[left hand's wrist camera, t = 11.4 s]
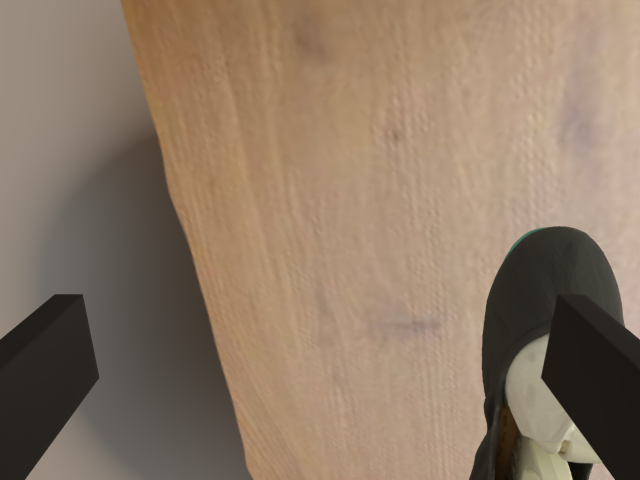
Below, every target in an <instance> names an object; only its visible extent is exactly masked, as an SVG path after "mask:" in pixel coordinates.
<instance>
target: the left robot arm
mask: <svg viewBox="0 0 640 480" xmlns="http://www.w3.org/2000/svg"><path fill="white" fill-rule="evenodd" d="M98 379H99V374H98V369H97V364H96V359H95V354H94V349H93V344H92V339H91V334H90V329H89V324H88V319H87V314H86V309H85V304H84V299H83V295H82V294H55V295H54V296H52V297H51V298H50V299H49V300H48V301H46V302H45V303H44V304H43V305H42V306H40V307H39V308H38V309H37V310H36V311H34V312H33V313H32V314H31V315H29V316H28V317H27V318H26V319H25V320H23V321H22V322H21V323H20V324H19V325H17V326H16V327H15V328H14V329H13V330H11V331H10V332H9V333H8V334H6V335H5V336H4V337H3V338H2V339H0V480H25V479H26V478H27V476H28V475H29V473H30V472H31V471H32V469H33V468H34V467H35V465H36V464H37V462H38V461H39V460H40V458H41V457H42V456H43V454H44V453H45V451H46V450H47V449H48V447H49V446H50V445H51V443H52V442H53V440H54V439H55V438H56V436H57V435H58V434H59V432H60V431H61V429H62V428H63V427H64V425H65V424H66V423H67V421H68V420H69V418H70V417H71V416H72V414H73V413H74V412H75V410H76V409H77V408H78V406H79V405H80V403H81V402H82V401H83V399H84V398H85V397H86V395H87V394H88V392H89V391H90V390H91V388H92V387H93V386H94V384H95V383H96V381H97V380H98ZM541 379H542V380H543V382H544V383H545V384H546V386H547V387H548V388H549V390H550V391H551V393H552V394H553V395H554V397H555V398H556V399H557V401H558V402H559V403H560V405H561V406H562V408H563V409H564V410H565V412H566V413H567V414H568V416H569V417H570V419H571V420H572V421H573V423H574V424H575V425H576V427H577V428H578V430H579V431H580V432H581V434H582V435H583V436H584V438H585V439H586V440H587V442H588V443H589V445H590V446H591V447H592V449H593V450H594V451H595V453H596V454H597V456H598V457H599V458H600V460H601V461H602V462H603V464H604V465H605V467H606V468H607V469H608V471H609V472H610V473H611V475H612V476H613V478H614V479H615V480H640V339H638V338H637V337H636V336H635V335H634V334H632V333H631V332H630V331H629V330H627V329H626V328H625V327H624V326H623V325H621V324H620V323H619V322H618V321H617V320H615V319H614V318H613V317H612V316H611V315H609V314H608V313H607V312H606V311H605V310H603V309H602V308H601V307H600V306H598V305H597V304H596V303H595V302H594V301H592V300H591V299H590V298H589V297H588V296H586V295H585V294H557V299H556V304H555V309H554V314H553V319H552V324H551V329H550V334H549V339H548V344H547V349H546V354H545V359H544V364H543V369H542V374H541Z"/></svg>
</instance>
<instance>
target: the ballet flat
mask: <svg viewBox="0 0 640 480" xmlns="http://www.w3.org/2000/svg"><path fill="white" fill-rule="evenodd" d="M557 294H585V295H586V296H588V297H589V298H590V299H591V300H592V301H594V302H595V303H596V304H597V305H598V306H600V307H601V308H602V309H603V310H605V311H606V312H607V313H608V314H609V315H611V316H612V317H613V318H614V319H615V320H617V321H618V322H619V323H620V324H621V325H623V326H624V327H625V325H624V320H623V312H622V303H621V297H620V293H619V289H618V285H617V282H616V279H615V276H614V274H613V271H612V269H611V266H610V264H609V262H608V260H607V258H606V257H605V255H604V253H603V251H602V250H601V248H600V247H599V246H598V245H597V243H596V242H595V241H594V240H593V239H592V238H590V237H589V235H587V234H586V233H584V232H582V231H580V230H578V229H575V228H570V227H565V226H564V227H560V226H558V227H546V228H539V229H535V230H533V231H530V232H528V233H527V234H525V235H523V236H522V237H521V238H520V239H519V240H518V241H517V242H516V243H515V244H514V245H513V246H512V248H511V249H510V251H509V252H508V254H507V256H506V257H505V260H504V262H503V264H502V265H501V267H500V269H499V271H498V273H497V275H496V277H495V279H494V282H493V284H492V287H491V290H490V293H489V296H488V299H487V305H486V312H485V320H484V329H483V339H482V340H483V342H482V376H483V384H484V391H485V397H486V398H485V402H484V413H485V418H486V422H487V434H486V436H485V437H484V439H483V441H482V442H481V444H480V446H479V448H478V450H477V452H476V455H475V461H474V466H473V469H472V472H471V475H470V478H469V480H588V479H589V475H590V473H591V469H592V466H593V463H603V462H602V461H601V460H600V458H599V457H598V456H597V454H596V453H595V451H594V450H593V449H592V447H591V446H590V445H589V443H588V442H587V440H586V439H585V438H584V436H583V435H582V434H581V432H580V431H579V430H578V428H577V427H576V425H575V424H574V423H573V421H572V420H571V419H570V417H569V416H568V414H567V413H566V412H565V410H564V409H563V408H562V406H561V405H560V403H559V402H558V401H557V399H556V398H555V397H554V395H553V394H552V393H551V391H550V390H549V388H548V387H547V386H546V384H545V383H544V382H543V380H542V379H541V374H542V369H543V364H544V359H545V354H546V349H547V344H548V339H549V334H550V329H551V324H552V319H553V314H554V309H555V304H556V299H557Z"/></svg>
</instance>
